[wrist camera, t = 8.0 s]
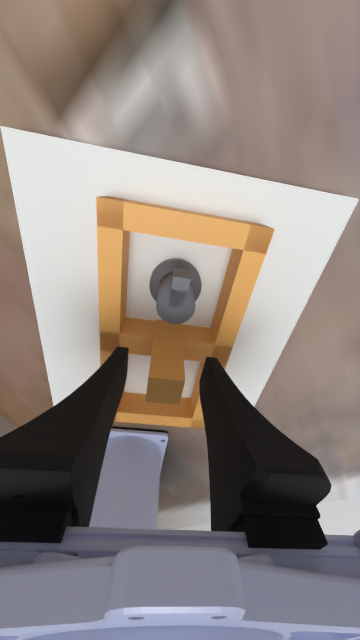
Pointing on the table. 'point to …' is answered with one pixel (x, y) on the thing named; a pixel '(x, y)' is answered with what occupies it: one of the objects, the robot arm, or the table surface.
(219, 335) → the orange link
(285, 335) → the board
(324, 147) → the table surface
